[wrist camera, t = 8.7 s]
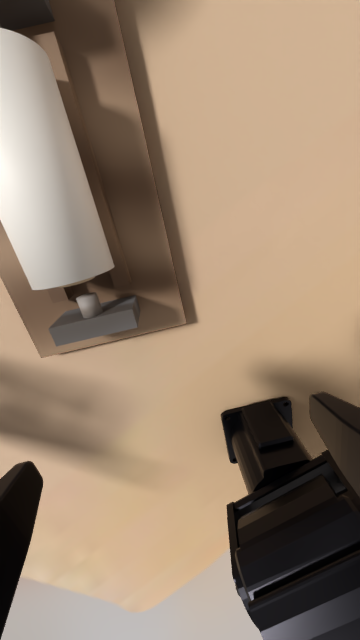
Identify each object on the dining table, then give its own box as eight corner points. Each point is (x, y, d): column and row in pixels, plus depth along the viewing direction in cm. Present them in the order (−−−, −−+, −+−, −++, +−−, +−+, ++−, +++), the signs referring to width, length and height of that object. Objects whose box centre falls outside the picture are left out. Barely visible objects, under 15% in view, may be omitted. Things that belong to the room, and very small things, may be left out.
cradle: (185, 318, 19) (192, 341, 16) (46, 351, 19) (20, 382, 16) (99, -64, 12) (73, -195, 8) (-130, -12, 12) (-261, -120, 8)
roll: (121, 265, 16) (108, 281, 12) (53, 281, 16) (18, 302, 12) (62, 73, 12) (14, -1, 8) (-26, 93, 12) (-117, 30, 8)
